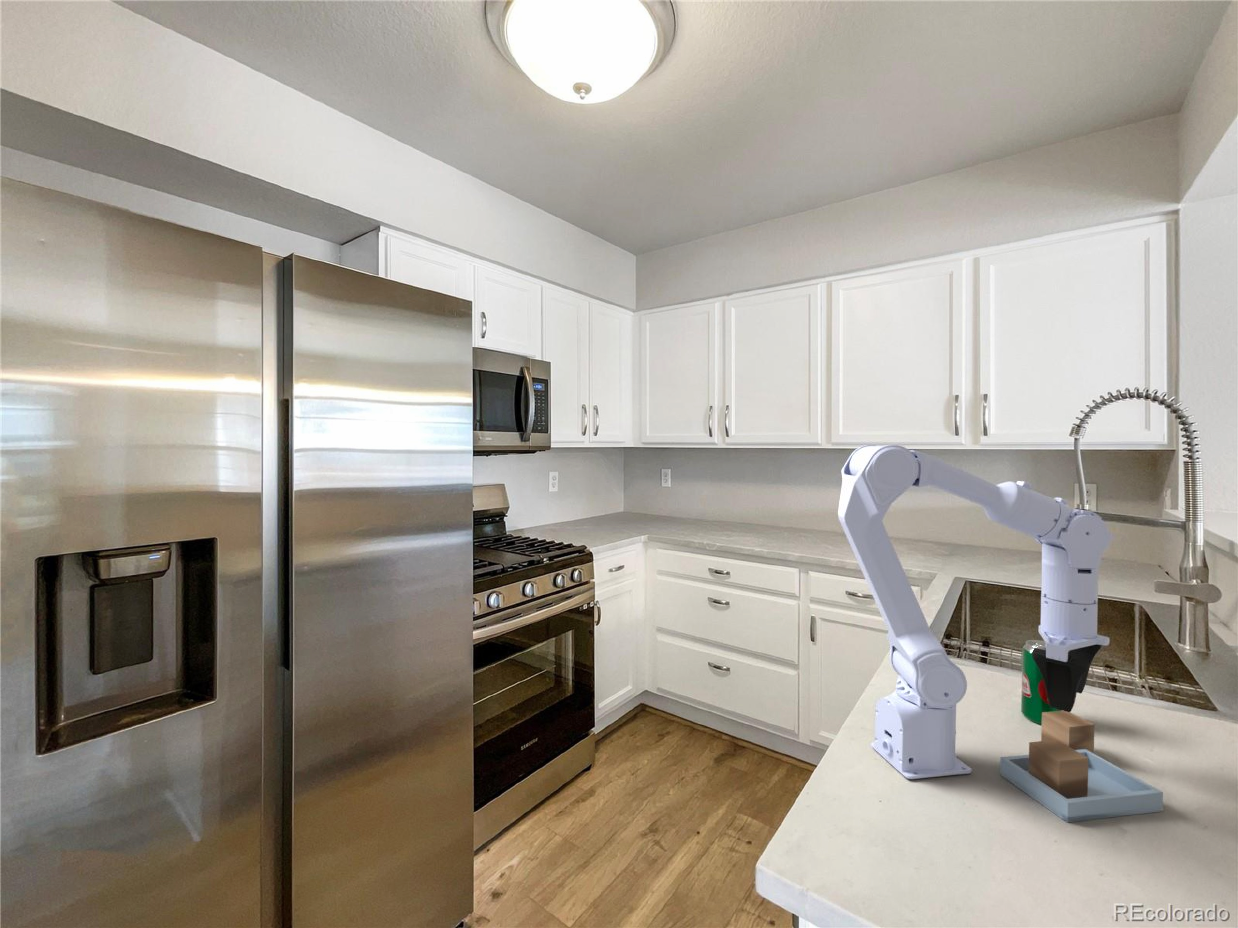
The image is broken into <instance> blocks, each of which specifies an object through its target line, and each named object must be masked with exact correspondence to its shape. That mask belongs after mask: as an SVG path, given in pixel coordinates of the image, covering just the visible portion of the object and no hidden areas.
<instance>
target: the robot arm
mask: <svg viewBox="0 0 1238 928" xmlns="http://www.w3.org/2000/svg"><path fill="white" fill-rule="evenodd" d="M841 479H842V482H841V488H840V497H839V502H838V510H837V516H838V521H839V522H840V525H841V528H842V530H843V532H844V534H845V536H846V539H847V540H848V543H849V545H850V547H851V549H852V552H853V554H854V556H855V558H856V561H857V563H858V566H859V568H860V570H861V573H862V574H863V577H864V579H865V581H866V583H867V585H868V588H869V590H870V593H871V594H872V595H871V596H872V597H873V599H874V602H875V605H876V607H877V608H878V610H879V613H880V615H881V618H882V620H883V621H884V624H885V626H886V629H887V631H888V632H887V634H886V638H887V641H888V643H889V648H890V650H889V652H890V653H889V661H890V664H891V667H892V668H893V670H894V671H895V672H896V674H898V675H897V680H896V684H895V690H894V691H893V692H892V693H890V694H889V695H886V696H883V697H880V698H879V699H878V700H877V701H876V704H875V708H874V709H875V711H874V741H873V742H870V743H871V744H870V745H871V748H873V750H875V751H876V752H877V753H878V754H879V755H880V756H881V757H882V758H883V759H885V760H886V761H887V762H888V763H889V764H890V765H891V766H893V767H894V768H895V770H897V771H898V772H899V773H900V774H901V775H903V777H905V778H906V779H908V780H914V779H915V780H916V779H917V780H918V779H925V778H935V777H937V778H938V777H944V776H945V777H946V776H956V775H965V774H967V775H968V774H971V773H972V771H973V770H972V768H971V767H970V766H969V765H967V764H966V763H964V762H963V761H962V760H960V759H959V758H957V757H956V740H957V739H956V734H957V728H956V727H957V726H956V725H957V704H958V703H960V702H961V701H962V699H963V698H964V697H965V696H966V693H967V689H968V688H967V687H968V681H967V678H966V675H965V673H964V672H963V670H962V669H961V668H960V667H959V666H958V665H957V664H956V663H954V662H953V661H952V660H951V659H950V657H949V656H948V654H947V652H946V648H945V647H944V646H943V644H941V642H940V640H939V639H938V638H937V637H936V635H935V634H934V633H933V631H932V629H931V628H930V626H929V624H928V622H927V619H926V617H925V615H924V612H923V610H922V608H921V605H920V604H919V601H918V599H917V597H916V595H915V593H914V590H913V588H912V586H911V584H910V581H909V579H908V577H907V575H906V573H905V572H906V571H905V570H904V568H903V566H902V564H901V560H900V558H899V556H898V554H897V552H896V550H895V547H894V545H893V543H892V541H891V539H890V536H889V533H888V532H887V530H886V528H885V525H884V522H883V520H884V518H885V516H886V514H887V512H888V511H889V509H890V508H891V505H892V504H893V503H894V502H896V500H897V499H899V497H901V496H903V494H904V493H905V492H907V490H909V489H910V488H911V487H916V488H917V487H918V488H922V487H927V486H931V487H932V488H935V489H937V490H940V491H943V492H946V493H948V494H951V495H954V496H955V497H958V498H962V499H963V500H966V501H969V502H971V503H974V504H977V505H979V506H981V507H982V509H983V511H984V514H985V516H986V517H987V519H988V520H990V521H992V522H995V523H997V524H1000V525H1001V526H1004V527H1007V528H1009V529H1011V530H1013V531H1015V532H1018V533H1021V534H1023V535H1025V536H1028V537H1030V538H1032V539H1034V540H1035V541H1036V542H1037V543H1039V545H1041V587H1040V588H1041V592H1040V593H1041V594H1040V624H1039V625H1038V633H1039V635H1040V636H1041V638H1042V640H1043V641H1045V642H1046V650H1043V649H1038V648H1034V649H1033V650H1032V658H1033V660H1034V661H1035V663H1036V665H1037V666H1038V668H1039V670H1040V673H1041V675H1042V678H1043V681H1044V685H1045V689H1046V694H1047V698H1048V701H1049V704H1050V707H1052V708H1056V709H1059V710H1062V711H1066V712H1070V713H1072V710H1073V708H1074V705H1075V702H1076V700H1077V699H1076V698H1077V693H1078V694H1082V693H1083V692H1084V689H1085V687H1086V683H1087V680H1088V676H1089V672H1090V669H1091V665H1092V663H1093V660H1094V658H1095V656H1096V654H1097V653H1098V652H1099V650H1101V648H1102V647H1103V646H1106V647H1107V646H1109V644H1110V637H1108V636H1106V635H1105V636H1104V635H1101V634H1098V610H1099V609H1098V601H1099V568H1100V565H1102V557H1103V554H1104V552H1105V551H1106V550H1107V549H1108V548H1109V547H1110V545H1111V543H1112V541H1113V536H1114V533H1113V532H1111V531H1109V529H1108V525H1107V523H1106V521H1104V520H1102V519H1103V517H1101V516H1100V515H1099V514H1097V513H1096V512H1093V511H1090V510H1084V509H1078V508H1073V507H1070V505H1068V504H1069V501H1068V500H1067V499H1065V498H1062V497H1054V498H1053V497H1051V496H1048V495H1045V494H1043V493H1041V492H1038V491H1035V490H1033V486H1034V485H1033V484H1031V483H1029V482H1028V481H1022V480H1017V481H1016V482H1015V481H1005V482H1002V483H1001V482H1000V483H998V484H995V483H992V482H991V481H987V480H985V479H982V478H981V477H979V476H976V475H974V474H972V473H970V472H968V471H965V470H963V469H962V468H959V467H957V466H955V465H952V464H950V463H948V462H946V461H944V460H942V459H940V458H938V457H935V456H932V455H930V454H927V453H925V452H922V451H917V450H909V449H908V447H907V448H906V447H905V446H903V445H899V444H887V445H876V444H865V445H862V446H860V447H858V448H856V449H855V450H854V451H852V453H851V454H850V456H849V457H848V458H847V460H846V462H845V464H844V465H843V466H842V468H841Z"/></svg>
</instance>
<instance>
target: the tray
mask: <svg viewBox="0 0 1238 928" xmlns="http://www.w3.org/2000/svg"><path fill="white" fill-rule="evenodd" d="M1075 751H1077V752H1079V753H1081V754H1082V755H1084V756H1086V757H1088V758H1089V761H1088V794H1087V797H1081V798H1072V799H1067V798H1065V797H1064V796H1062V795H1061V794H1059V793H1058V792H1056V791H1055V790H1053V789H1052V788H1050V787H1049V786H1047V785H1046V784H1044V783H1043V782H1041V781H1040V780H1038V779H1037V778H1035V777H1034V776H1032V775H1031V774H1029V754H1020V755H1012V756H1011V755H1010V756H1002V757H1000V759H999V760H1000V761H999V762H1000V766H999V767H1000V768H999V774H1000V776H1002V777H1003V778H1005V780H1007V781H1009V782H1010V783H1011V784H1013V785H1014V786H1016V787H1017V788H1019V789H1020V790H1021V791H1022V792H1024V793H1026V794H1027V795H1028V796H1030V797H1031V798H1032V799H1033V800H1035V801H1037V802H1038V803H1039V804H1041V805H1042V806H1043V807H1045V808H1046V809H1048V810H1049V811H1051V812H1052V813H1053V814H1055V815H1056V816H1057V817H1059V818H1060V819H1062V820H1063V821H1064V822H1066V823H1073V822H1081V821H1082V822H1083V821H1090V820H1091V821H1092V820H1099V819H1107V818H1116V817H1117V818H1118V817H1124V816H1125V817H1126V816H1133V815H1134V816H1135V815H1142V814H1149V813H1156V812H1157V813H1159V812H1163V801H1164V797H1163V796H1164V792H1163V791H1162V790H1160V789H1158V788H1156V787H1155V786H1152V785H1151V784H1149V783H1148V782H1145V781H1144V780H1142V779H1140V778H1139V777H1137V776H1136V775H1133V774H1131V773H1129V772H1128V771H1126V770H1125V769H1122V768H1120V767H1119V766H1117V765H1115V764H1114V763H1111V762H1109V761H1107V760H1106V759H1105V758H1102V757H1101V756H1098V755H1097V754H1096V753H1094V754H1093V753H1092V752H1090V751H1088V750H1086V749H1081V750H1075Z"/></svg>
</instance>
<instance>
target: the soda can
mask: <svg viewBox="0 0 1238 928" xmlns="http://www.w3.org/2000/svg"><path fill="white" fill-rule="evenodd" d="M1034 648H1038V649H1043V650H1046V642H1045V641H1044V640H1041V639H1040V640H1039V639H1028V640H1025V644H1024V645H1023V646H1022V655H1021V656H1022V661H1021V662H1022V663H1021V699H1020V701H1021V702H1020V703H1021V704H1020V712H1021V714H1022V715H1023V716H1024V717H1025V718H1026V719H1027V721H1028V720H1029V721H1030V722H1033V723H1034V724H1038V725H1041V726H1042V712H1053V711H1063V710H1059V709H1056V708H1052V707H1050V704H1049V701H1048V698H1047V694H1046V689H1045V685H1044V681H1043V678H1042V675H1041V673H1040V670H1039V668H1038V666H1037V665H1036V663H1035V661H1034V660H1033V658H1032V650H1033V649H1034Z"/></svg>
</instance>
